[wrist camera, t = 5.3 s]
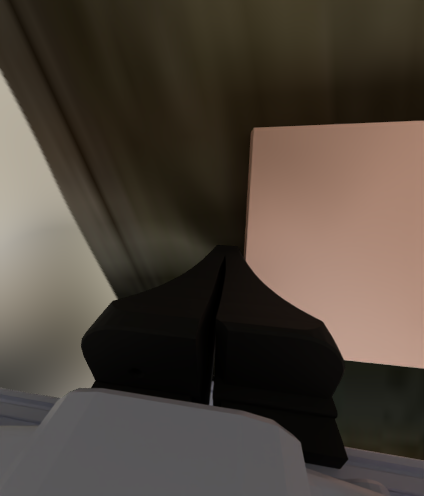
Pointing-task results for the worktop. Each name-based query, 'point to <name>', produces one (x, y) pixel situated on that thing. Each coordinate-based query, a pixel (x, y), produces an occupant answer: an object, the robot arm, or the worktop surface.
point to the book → (343, 231)
